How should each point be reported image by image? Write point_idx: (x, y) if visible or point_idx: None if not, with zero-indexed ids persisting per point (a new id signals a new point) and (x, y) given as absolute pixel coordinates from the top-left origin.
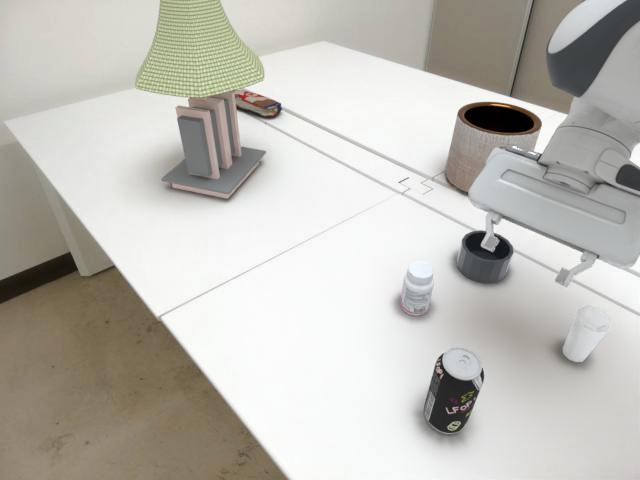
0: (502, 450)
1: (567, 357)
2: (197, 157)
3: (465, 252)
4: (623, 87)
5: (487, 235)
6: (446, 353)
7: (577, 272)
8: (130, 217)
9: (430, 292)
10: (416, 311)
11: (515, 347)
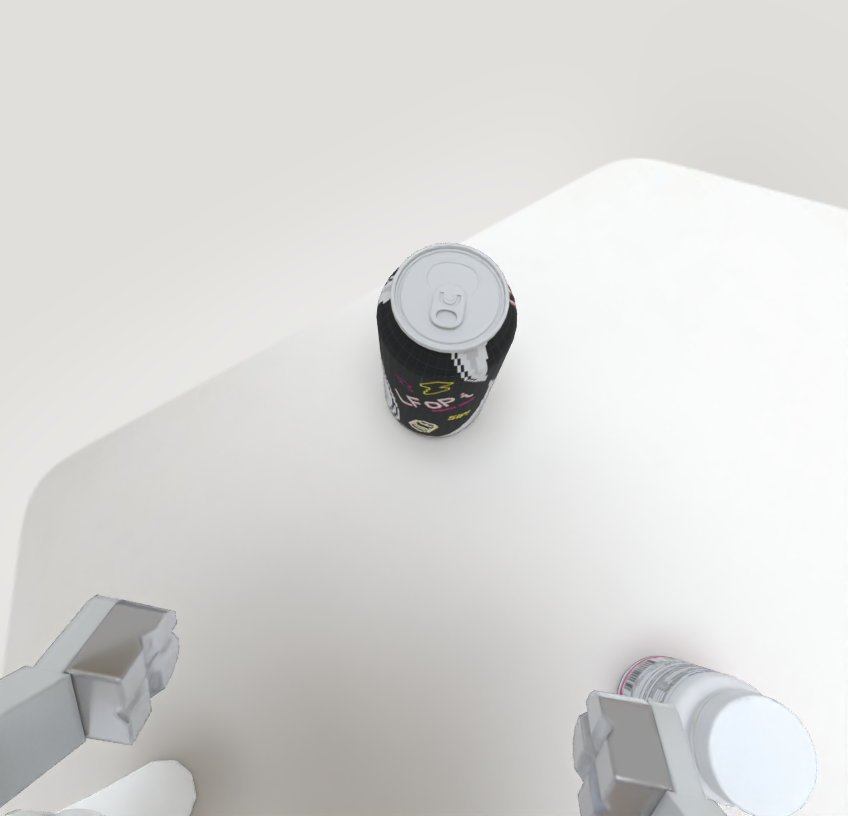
0: (299, 383)
1: (179, 763)
2: None
3: None
4: None
5: (686, 776)
6: (503, 306)
7: (15, 674)
8: None
9: None
10: (644, 663)
11: (330, 714)
